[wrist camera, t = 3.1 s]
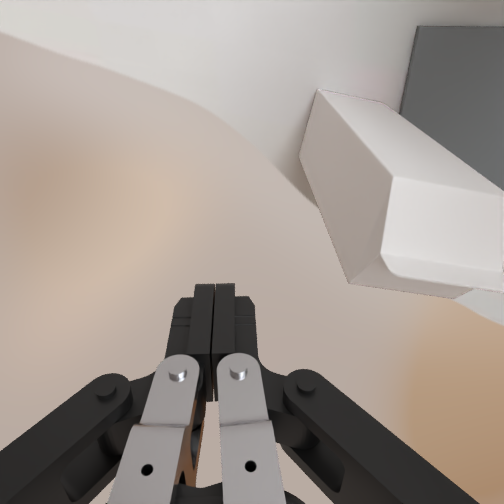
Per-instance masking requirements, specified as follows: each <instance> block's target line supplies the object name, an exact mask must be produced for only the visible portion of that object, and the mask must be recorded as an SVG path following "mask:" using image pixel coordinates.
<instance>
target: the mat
mask: <svg viewBox="0 0 504 504" xmlns="http://www.w3.org/2000/svg"><path fill="white" fill-rule="evenodd" d="M399 115H401V116H402V117H403V118H405V119H406V120H407V121H409V122H410V123H412V124H413V125H414V126H416V127H417V128H418V129H420V130H421V131H422V132H424V133H425V134H427V135H428V136H429V137H431V138H432V139H433V140H435V141H436V142H437V143H439V144H440V145H441V146H443V147H444V148H446V149H447V150H448V151H450V152H451V153H452V154H454V155H455V156H456V157H458V158H459V159H461V160H462V161H463V162H465V163H466V164H467V165H469V166H470V167H471V168H473V169H474V170H476V171H477V172H478V173H480V174H481V175H482V176H484V177H485V178H486V179H488V180H489V181H491V182H492V183H493V184H495V185H496V186H497V187H499V188H500V189H501V190H503V191H504V27H464V26H417V31H416V36H415V41H414V46H413V50H412V55H411V60H410V65H409V70H408V75H407V79H406V84H405V89H404V94H403V99H402V104H401V109H400V113H399Z"/></svg>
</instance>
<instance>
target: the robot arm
mask: <svg viewBox="0 0 504 504" xmlns="http://www.w3.org/2000/svg"><path fill="white" fill-rule="evenodd" d="M213 389H214V395H215V401H218V403H219V422H220V443H221V462H222V463H221V464H222V482H221V483H218V484H214V485H211V486H208V487H205V488H196V476H197V469H198V462H199V455H200V448H201V442H202V435H203V429H204V417H205V411H206V402H212V401H213ZM276 442H277V443H280V444H281V447H282V449H283V450H284V451H285V452H286V454H287V455H288V456H289V457H290V458H291V459H292V460H293V461H294V462H295V463H296V464H297V465H298V466H299V467H300V468H301V469H302V470H303V472H305V474H306V475H307V476H308V477H309V478H310V479H311V480H312V481H313V482H314V483H315V484H316V485H317V486H318V487H319V488H320V489H321V491H322V492H323V493H324V494H325V495H326V496H327V497H328V498H329V499H330V500H331V501H332V502H333V503H334V504H479V503H478V502H477V501H475V500H474V499H473V498H472V497H471V496H469V495H468V494H467V493H466V492H464V491H463V490H462V489H461V488H459V487H458V486H457V485H456V484H454V483H453V482H452V481H451V480H450V479H448V478H447V477H446V476H445V475H443V474H442V473H441V472H440V471H438V470H437V469H436V468H435V467H434V466H432V465H431V464H430V463H429V462H427V461H426V460H425V459H424V458H422V457H421V456H420V455H419V454H417V453H416V452H415V451H414V450H413V449H411V448H410V447H409V446H408V445H406V444H405V443H404V442H403V441H401V440H400V439H399V438H398V437H397V436H395V435H394V434H393V433H391V432H390V431H389V430H388V429H387V428H385V427H384V426H383V425H382V424H381V423H379V422H378V421H377V420H376V419H374V418H373V417H372V416H371V415H369V414H368V413H367V412H366V411H365V410H363V409H362V408H361V407H360V406H358V405H357V404H356V403H355V402H353V401H352V400H351V399H350V398H349V397H347V396H346V395H345V394H344V393H342V392H341V391H340V390H339V389H337V388H336V387H335V386H334V385H332V384H331V383H330V382H329V381H328V380H326V379H325V378H324V377H323V376H321V375H320V374H319V373H316V372H315V371H312V370H308V369H300V370H295V371H293V372H291V373H290V374H289V375H288V376H284V375H280V374H276V373H273V372H271V371H269V370H268V369H266V368H265V367H264V366H263V365H262V364H261V362H260V361H259V358H258V349H257V334H256V320H255V305H254V304H253V302H252V301H251V299H250V298H249V297H248V296H240V297H239V296H238V297H235V284H234V283H227V284H216V290H215V284H196V285H195V291H194V297H193V298H191V297H190V298H181V299H180V300H179V302H178V303H177V304H176V306H175V307H174V312H173V319H172V323H171V328H170V334H169V338H168V344H167V349H166V355H165V359H164V360H163V361H162V362H161V363H160V364H159V365H158V367H157V369H156V371H155V372H153V373H152V374H150V375H148V376H146V377H143V378H140V379H136V380H133V381H128V379H127V378H126V377H125V376H123V375H120V374H116V373H111V374H105V375H102V376H100V377H98V378H96V379H94V380H93V381H92V382H90V383H89V384H88V385H86V386H85V387H84V388H82V389H81V390H80V391H79V392H77V393H76V394H74V395H73V396H72V397H70V398H69V399H68V400H67V401H65V402H64V403H63V404H61V405H60V406H59V407H57V408H56V409H55V410H54V411H52V412H51V413H50V414H48V415H47V416H46V417H44V418H43V419H42V420H40V421H39V422H38V423H37V424H35V425H34V426H33V427H31V428H30V429H29V430H27V431H26V432H25V433H23V434H22V435H21V436H20V437H18V438H17V439H16V440H14V441H13V442H12V443H10V444H9V445H8V446H7V447H5V448H4V449H3V450H1V451H0V504H89V503H90V502H91V501H92V500H93V499H94V498H95V497H96V496H97V495H98V494H99V493H100V492H101V491H102V490H103V489H104V488H105V487H106V486H107V485H108V484H109V483H110V482H111V481H112V480H113V479H114V478H115V477H116V478H115V481H114V484H113V487H112V491H111V493H110V497H109V500H108V503H106V504H305V503H304V502H303V501H301V500H300V499H299V498H297V497H296V496H294V495H292V494H291V493H289V492H287V491H284V488H283V483H282V477H281V471H280V465H279V460H278V454H277V448H276Z"/></svg>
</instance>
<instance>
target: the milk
mask: <svg viewBox="0 0 504 504" xmlns="http://www.w3.org/2000/svg"><path fill="white" fill-rule="evenodd" d="M299 159H300V162H301V164H302V167H303V169H304V172H305V174H306V177H307V179H308V182H309V185H310V187H311V190H312V192H313V195H314V197H315V200H316V202H317V205H318V207H319V210H320V213H321V215H322V217H323V220H324V223H325V225H326V228H327V230H328V233H329V235H330V238H331V240H332V243H333V246H334V248H335V251H336V253H337V255H338V258H339V261H340V263H341V266H342V268H343V271H344V274H345V276H346V279H347V281H348V283H349V284H355V285H362V286H368V287H375V288H382V289H389V290H396V291H403V292H409V293H416V294H423V295H430V296H437V297H443V298H450V299H454V298H457V297H459V296H461V295H463V294H465V293H467V292H468V291H470V290H472V289H479V290H486V291H493V292H499V293H504V274H503V266H504V191H503V190H501V189H500V188H499V187H497V186H496V185H495V184H493V183H492V182H491V181H489V180H488V179H486V178H485V177H484V176H482V175H481V174H480V173H478V172H477V171H476V170H474V169H473V168H471V167H470V166H469V165H467V164H466V163H465V162H463V161H462V160H461V159H459V158H458V157H456V156H455V155H454V154H452V153H451V152H450V151H448V150H447V149H446V148H444V147H443V146H441V145H440V144H439V143H437V142H436V141H435V140H433V139H432V138H431V137H429V136H428V135H427V134H425V133H424V132H422V131H421V130H420V129H418V128H417V127H416V126H414V125H413V124H412V123H410V122H409V121H407V120H406V119H405V118H403V117H402V116H401V115H399V114H398V113H397V112H395V111H394V110H392V109H391V108H390V107H388V106H387V105H386V104H384V103H381V102H377V101H372V100H367V99H363V98H358V97H354V96H349V95H344V94H340V93H335V92H330V91H326V90H321V89H317V91H316V95H315V99H314V102H313V106H312V109H311V113H310V117H309V120H308V124H307V127H306V131H305V135H304V138H303V142H302V145H301V149H300V153H299Z"/></svg>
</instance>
